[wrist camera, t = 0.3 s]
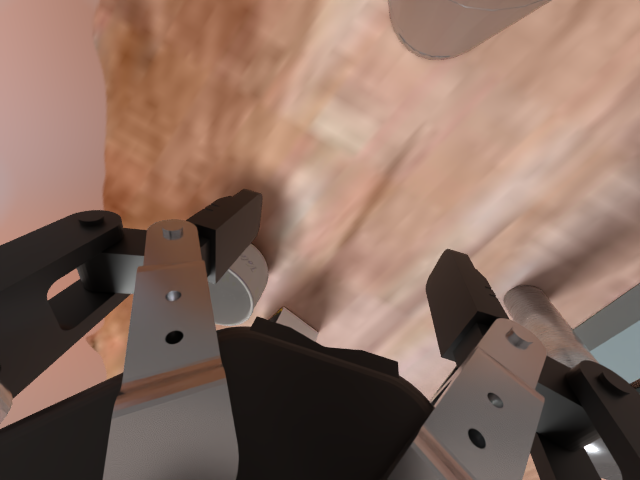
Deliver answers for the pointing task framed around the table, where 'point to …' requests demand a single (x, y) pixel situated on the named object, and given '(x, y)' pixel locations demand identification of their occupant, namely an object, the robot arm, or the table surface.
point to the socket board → (616, 336)
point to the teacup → (239, 288)
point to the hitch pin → (558, 352)
